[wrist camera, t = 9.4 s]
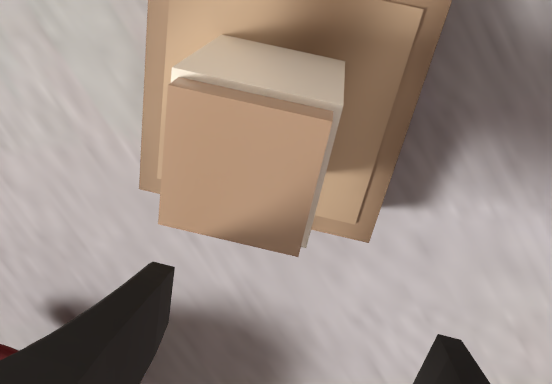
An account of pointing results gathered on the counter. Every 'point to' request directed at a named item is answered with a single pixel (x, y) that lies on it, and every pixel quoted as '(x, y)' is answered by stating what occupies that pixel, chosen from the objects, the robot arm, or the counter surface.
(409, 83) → the tan square tray
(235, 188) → the beige rectangular block
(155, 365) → the counter surface
